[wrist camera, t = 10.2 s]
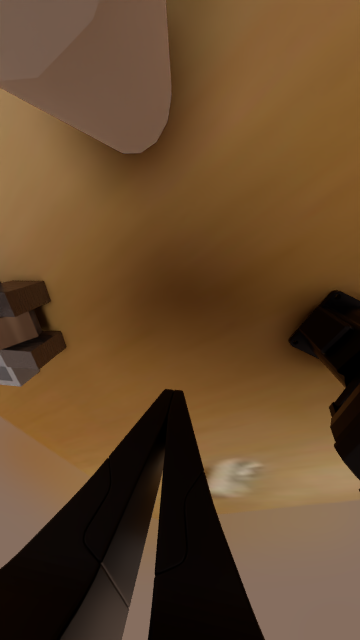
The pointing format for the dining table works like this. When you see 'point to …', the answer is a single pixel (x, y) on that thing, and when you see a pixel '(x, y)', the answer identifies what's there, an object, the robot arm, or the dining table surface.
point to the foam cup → (91, 65)
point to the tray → (15, 374)
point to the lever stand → (17, 301)
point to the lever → (18, 329)
